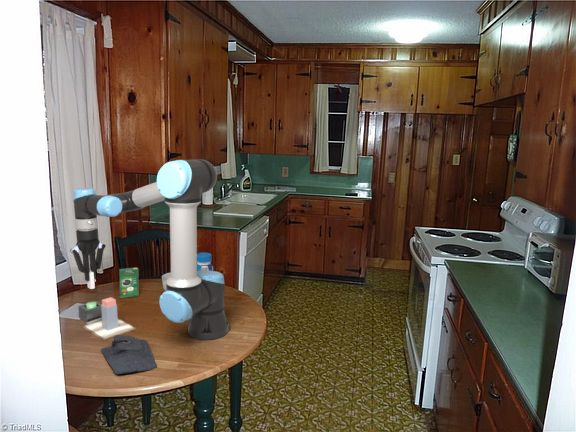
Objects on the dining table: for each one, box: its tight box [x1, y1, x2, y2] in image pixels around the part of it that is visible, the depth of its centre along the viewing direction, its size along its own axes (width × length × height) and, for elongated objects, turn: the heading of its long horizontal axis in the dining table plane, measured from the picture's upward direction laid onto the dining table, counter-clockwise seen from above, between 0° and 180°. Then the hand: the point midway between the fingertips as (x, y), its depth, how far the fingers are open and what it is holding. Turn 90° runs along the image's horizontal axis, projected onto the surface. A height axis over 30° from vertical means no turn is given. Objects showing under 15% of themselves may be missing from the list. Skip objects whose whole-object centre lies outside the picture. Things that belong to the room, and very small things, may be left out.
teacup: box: [161, 272, 171, 292], centre depth 201 cm, size 14×11×8 cm
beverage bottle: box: [197, 252, 214, 271], centre depth 193 cm, size 8×8×20 cm
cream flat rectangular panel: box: [80, 317, 138, 342], centre depth 161 cm, size 17×13×1 cm
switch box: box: [78, 300, 102, 323], centre depth 169 cm, size 7×7×5 cm
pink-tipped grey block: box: [101, 296, 119, 331], centre depth 160 cm, size 4×4×11 cm
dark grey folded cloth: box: [100, 334, 158, 375], centre depth 140 cm, size 15×22×5 cm
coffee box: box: [118, 267, 140, 299], centre depth 191 cm, size 8×3×13 cm, turn 119°
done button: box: [85, 300, 97, 309], centre depth 169 cm, size 4×4×5 cm
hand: (91, 287), depth 167 cm, fingers closed
